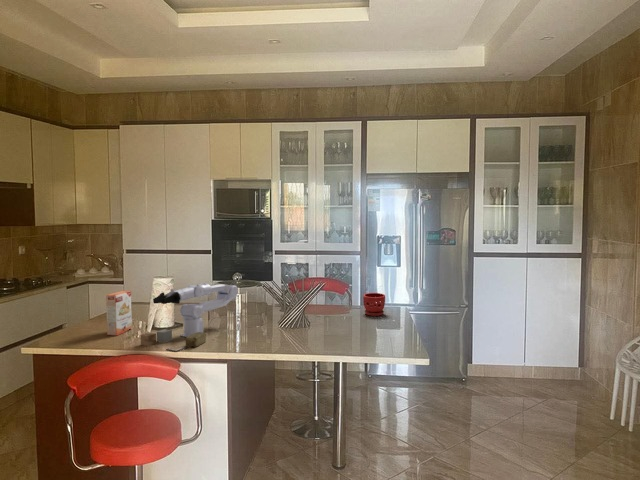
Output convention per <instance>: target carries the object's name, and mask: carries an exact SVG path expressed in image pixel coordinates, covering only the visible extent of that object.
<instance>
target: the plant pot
mask: <svg viewBox="0 0 640 480" xmlns="http://www.w3.org/2000/svg"><path fill="white" fill-rule="evenodd" d="M362 298H363V299H362V301H363V306H364V307H363V308H364V314H365V315H368V316H373V317H376V316H378V317H379V316H382V315H383V314H385V313H384V312H385V310H384V309H385V305H386V294H384V293H379V292H367V293H364V294H363V297H362Z"/></svg>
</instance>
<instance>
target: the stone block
mask: <svg viewBox="0 0 640 480" xmlns="http://www.w3.org/2000/svg"><path fill="white" fill-rule="evenodd" d="M184 340H185V347H186V348H192V347H194V348H197V347H199V346H200V345H203V344H205V342H206V341H207V333H206V332H205V331H203V332H197V333H194V334H191V335H190V336H187V337H185V339H184Z"/></svg>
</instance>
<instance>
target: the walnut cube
mask: <svg viewBox="0 0 640 480" xmlns="http://www.w3.org/2000/svg"><path fill="white" fill-rule="evenodd" d="M156 344H157V333H154V332H150V331H149V332H145V333H141V334H140V345H141V346H145V347H151V346H155V345H156Z"/></svg>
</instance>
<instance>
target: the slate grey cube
mask: <svg viewBox="0 0 640 480" xmlns="http://www.w3.org/2000/svg"><path fill="white" fill-rule="evenodd" d="M171 341H173V330H170V329H160V330H157V331H156V343H157V342H158V343H168V342H171Z"/></svg>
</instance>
